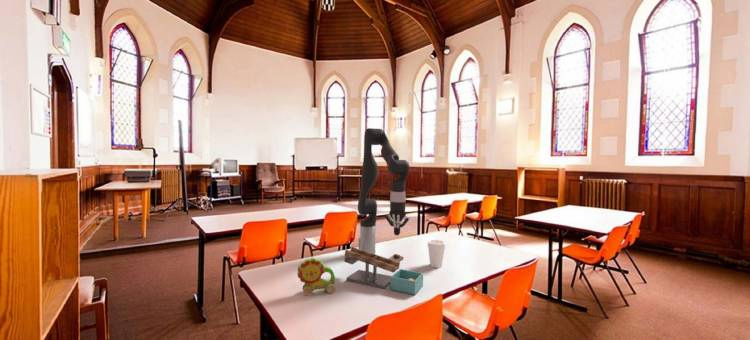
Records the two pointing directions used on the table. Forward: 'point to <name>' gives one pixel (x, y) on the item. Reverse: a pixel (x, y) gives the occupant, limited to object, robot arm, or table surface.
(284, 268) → the table surface
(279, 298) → the table surface
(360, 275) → the stand
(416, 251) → the table surface
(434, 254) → the foam cup
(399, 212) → the robot arm
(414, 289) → the teal storage bin
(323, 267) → the toy lion
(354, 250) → the lever
